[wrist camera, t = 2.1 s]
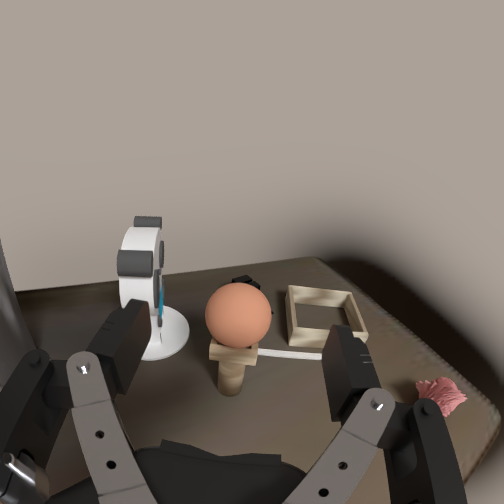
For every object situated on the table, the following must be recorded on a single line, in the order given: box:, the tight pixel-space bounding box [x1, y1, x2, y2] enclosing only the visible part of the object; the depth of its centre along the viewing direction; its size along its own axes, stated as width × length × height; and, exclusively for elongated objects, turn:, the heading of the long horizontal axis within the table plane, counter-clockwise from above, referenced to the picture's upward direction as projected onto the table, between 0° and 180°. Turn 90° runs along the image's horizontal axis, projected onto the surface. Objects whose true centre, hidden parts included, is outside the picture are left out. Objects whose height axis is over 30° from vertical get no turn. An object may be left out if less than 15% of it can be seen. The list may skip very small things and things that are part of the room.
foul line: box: [258, 348, 322, 360], centre depth 36 cm, size 18×1×1 cm, turn 87°
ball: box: [205, 283, 271, 348], centre depth 26 cm, size 6×6×6 cm
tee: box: [209, 336, 258, 396], centre depth 29 cm, size 4×4×9 cm
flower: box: [416, 377, 467, 417], centre depth 26 cm, size 8×8×6 cm
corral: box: [285, 285, 369, 348], centre depth 43 cm, size 11×11×3 cm
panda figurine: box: [117, 216, 189, 360], centre depth 33 cm, size 12×11×15 cm
